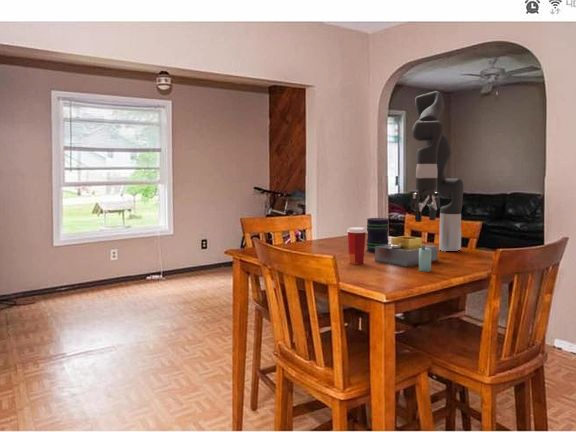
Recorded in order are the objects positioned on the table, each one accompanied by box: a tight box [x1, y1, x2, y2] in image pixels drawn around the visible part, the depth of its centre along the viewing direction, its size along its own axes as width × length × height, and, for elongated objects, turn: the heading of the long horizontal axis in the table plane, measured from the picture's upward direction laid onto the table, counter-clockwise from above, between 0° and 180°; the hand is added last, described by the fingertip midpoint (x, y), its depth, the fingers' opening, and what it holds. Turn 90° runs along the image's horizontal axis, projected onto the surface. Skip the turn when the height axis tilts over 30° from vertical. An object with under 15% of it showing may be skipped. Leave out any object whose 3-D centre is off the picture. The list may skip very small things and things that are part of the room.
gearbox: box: [374, 235, 439, 268], centre depth 191 cm, size 20×16×10 cm
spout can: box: [418, 244, 432, 273], centre depth 172 cm, size 4×4×10 cm
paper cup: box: [346, 226, 367, 265], centre depth 187 cm, size 8×8×14 cm
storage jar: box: [366, 217, 390, 254], centre depth 214 cm, size 10×10×15 cm
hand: (425, 221), depth 171 cm, fingers open, 8 cm apart
